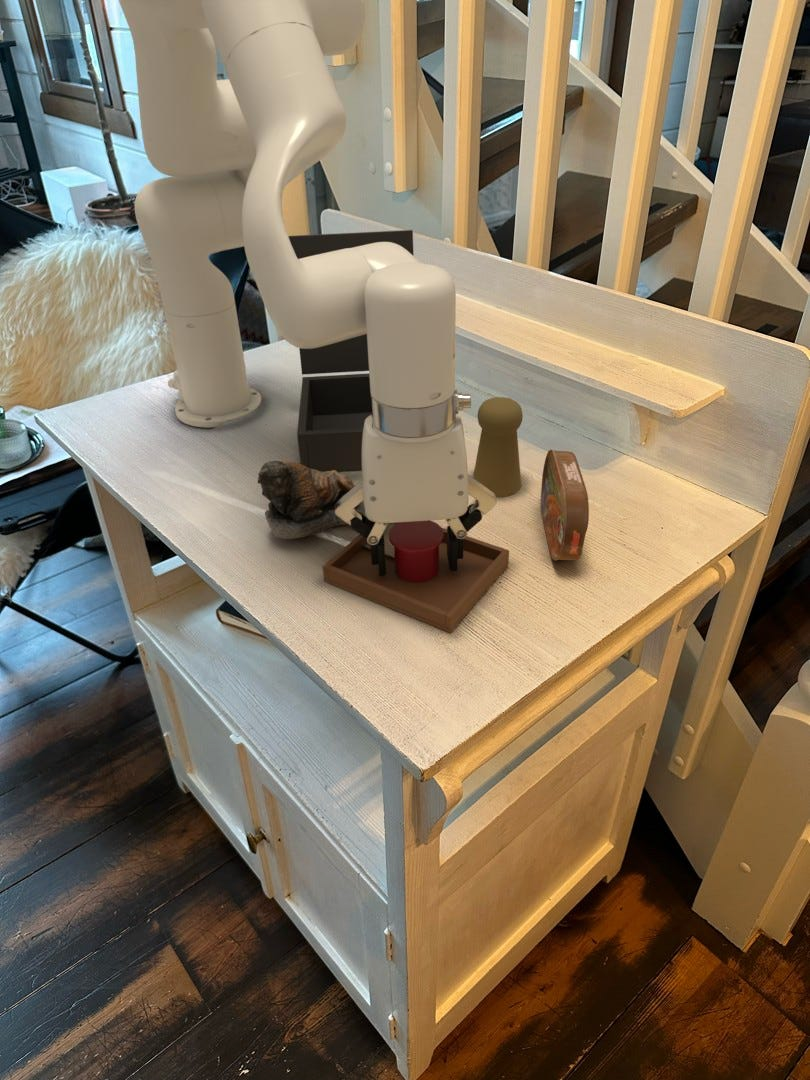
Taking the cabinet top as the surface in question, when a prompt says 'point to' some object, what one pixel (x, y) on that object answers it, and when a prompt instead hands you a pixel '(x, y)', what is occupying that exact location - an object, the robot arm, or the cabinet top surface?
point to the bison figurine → (302, 498)
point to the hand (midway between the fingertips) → (417, 564)
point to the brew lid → (354, 350)
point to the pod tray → (428, 600)
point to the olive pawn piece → (499, 446)
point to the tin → (564, 505)
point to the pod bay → (333, 421)
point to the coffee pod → (416, 549)
